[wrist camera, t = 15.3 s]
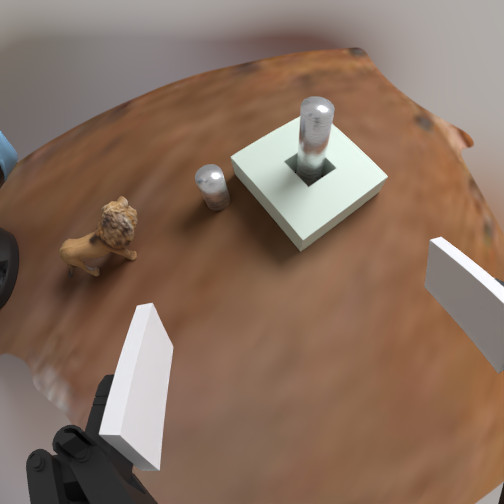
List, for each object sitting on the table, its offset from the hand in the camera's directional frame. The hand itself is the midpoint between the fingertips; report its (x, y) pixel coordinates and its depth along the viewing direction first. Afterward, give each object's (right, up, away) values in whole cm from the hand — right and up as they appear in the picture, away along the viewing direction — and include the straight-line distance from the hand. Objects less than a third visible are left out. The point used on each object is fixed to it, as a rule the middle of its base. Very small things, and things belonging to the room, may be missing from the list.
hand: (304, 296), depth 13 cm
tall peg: (+5, +11, +26) cm, 29 cm away
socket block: (+5, +11, +26) cm, 29 cm away
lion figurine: (-21, +2, +25) cm, 33 cm away
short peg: (-7, +9, +26) cm, 28 cm away
